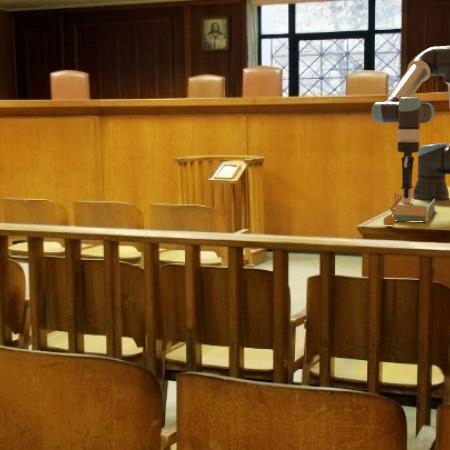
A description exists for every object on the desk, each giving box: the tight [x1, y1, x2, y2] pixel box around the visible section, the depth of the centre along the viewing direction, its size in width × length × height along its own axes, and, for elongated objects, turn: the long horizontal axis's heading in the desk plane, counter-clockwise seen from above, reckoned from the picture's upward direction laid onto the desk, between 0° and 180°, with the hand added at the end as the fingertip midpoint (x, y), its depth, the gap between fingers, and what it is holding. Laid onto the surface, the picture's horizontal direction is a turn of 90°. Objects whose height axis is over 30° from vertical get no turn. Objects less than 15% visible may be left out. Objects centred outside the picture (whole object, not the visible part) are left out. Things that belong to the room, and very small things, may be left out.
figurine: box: [383, 191, 403, 226], centre depth 262 cm, size 8×6×12 cm
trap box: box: [392, 199, 436, 223], centre depth 286 cm, size 30×12×6 cm, turn 160°
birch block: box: [398, 202, 413, 205], centre depth 278 cm, size 5×5×3 cm
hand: (406, 206), depth 281 cm, fingers closed
